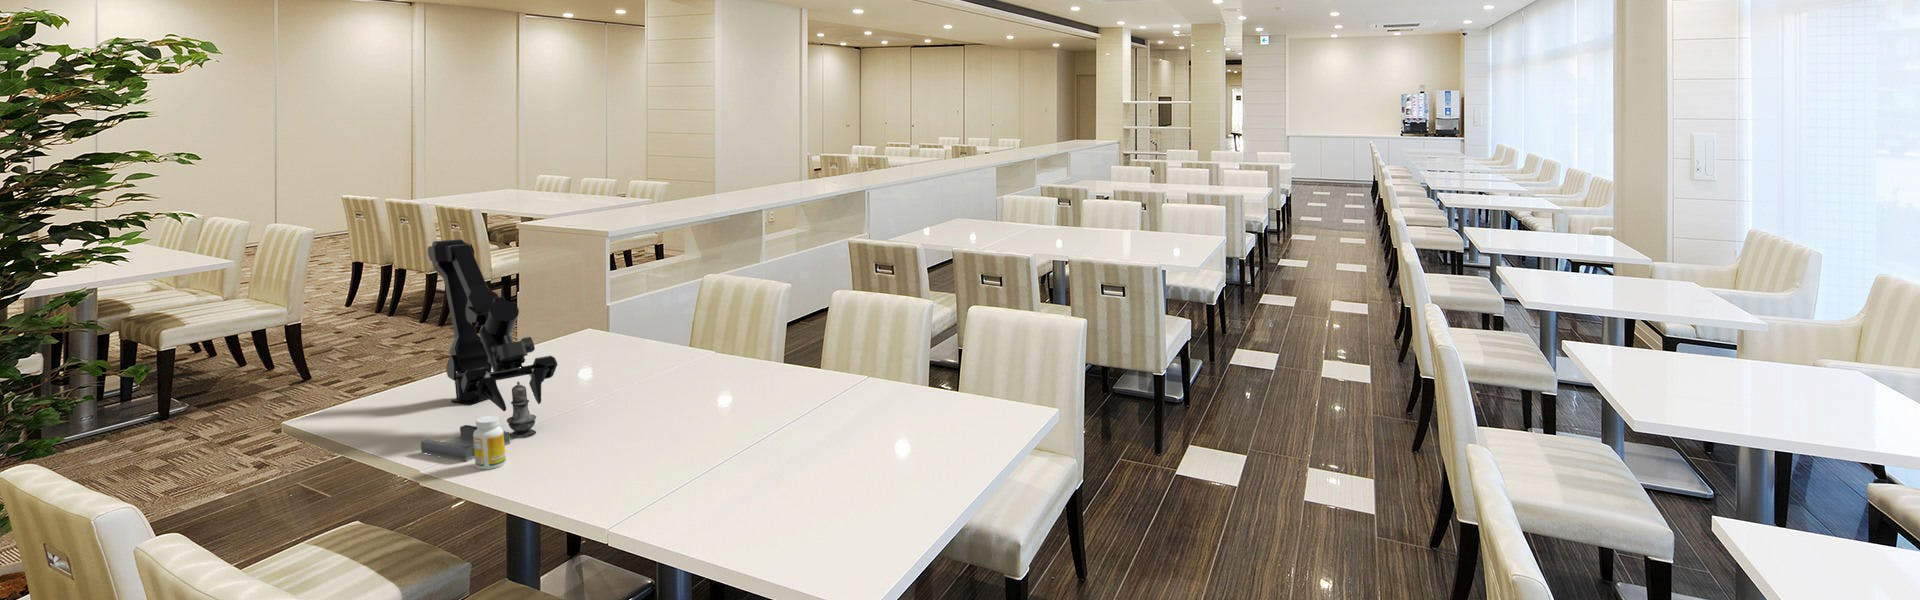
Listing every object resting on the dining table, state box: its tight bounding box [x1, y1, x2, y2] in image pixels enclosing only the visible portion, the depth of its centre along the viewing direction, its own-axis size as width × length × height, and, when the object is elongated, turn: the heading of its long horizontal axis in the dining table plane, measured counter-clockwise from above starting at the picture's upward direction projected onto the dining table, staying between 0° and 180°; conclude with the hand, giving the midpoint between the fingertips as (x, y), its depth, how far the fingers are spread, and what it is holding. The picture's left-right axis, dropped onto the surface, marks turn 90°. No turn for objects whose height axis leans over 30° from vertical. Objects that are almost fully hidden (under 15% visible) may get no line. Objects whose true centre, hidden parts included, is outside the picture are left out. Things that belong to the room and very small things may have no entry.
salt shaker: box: [506, 381, 537, 439], centre depth 197 cm, size 6×6×12 cm
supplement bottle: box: [473, 415, 507, 470], centre depth 180 cm, size 5×5×10 cm
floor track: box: [420, 424, 511, 462], centre depth 189 cm, size 12×11×3 cm
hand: (522, 406), depth 196 cm, fingers open, 7 cm apart
